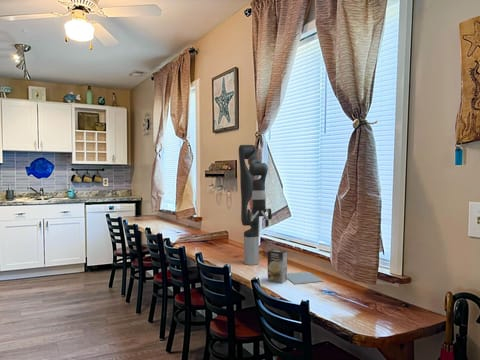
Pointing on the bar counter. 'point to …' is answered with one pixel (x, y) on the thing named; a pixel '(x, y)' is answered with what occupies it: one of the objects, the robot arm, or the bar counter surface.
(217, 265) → the bar counter surface
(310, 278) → the mat
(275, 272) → the coffee box
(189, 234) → the bar counter surface
